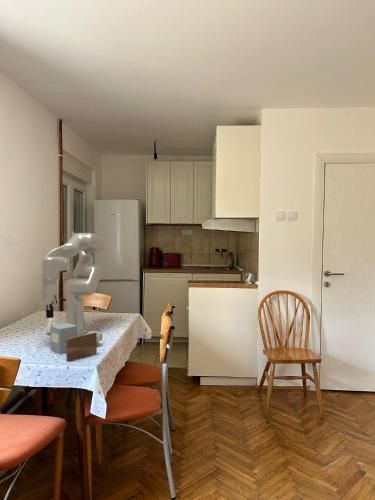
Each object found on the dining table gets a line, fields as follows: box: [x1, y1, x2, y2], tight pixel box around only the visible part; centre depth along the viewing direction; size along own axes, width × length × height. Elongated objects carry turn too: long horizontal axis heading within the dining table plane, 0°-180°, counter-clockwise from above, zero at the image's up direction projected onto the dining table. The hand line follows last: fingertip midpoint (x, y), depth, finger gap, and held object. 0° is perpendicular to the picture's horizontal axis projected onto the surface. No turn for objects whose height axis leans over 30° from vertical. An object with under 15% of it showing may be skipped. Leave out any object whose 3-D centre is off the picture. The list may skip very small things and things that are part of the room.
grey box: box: [50, 322, 78, 355], centre depth 178 cm, size 9×9×12 cm
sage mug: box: [86, 330, 103, 348], centre depth 186 cm, size 6×8×7 cm
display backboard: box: [65, 332, 98, 362], centre depth 167 cm, size 2×15×10 cm, turn 138°
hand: (49, 317), depth 186 cm, fingers closed
